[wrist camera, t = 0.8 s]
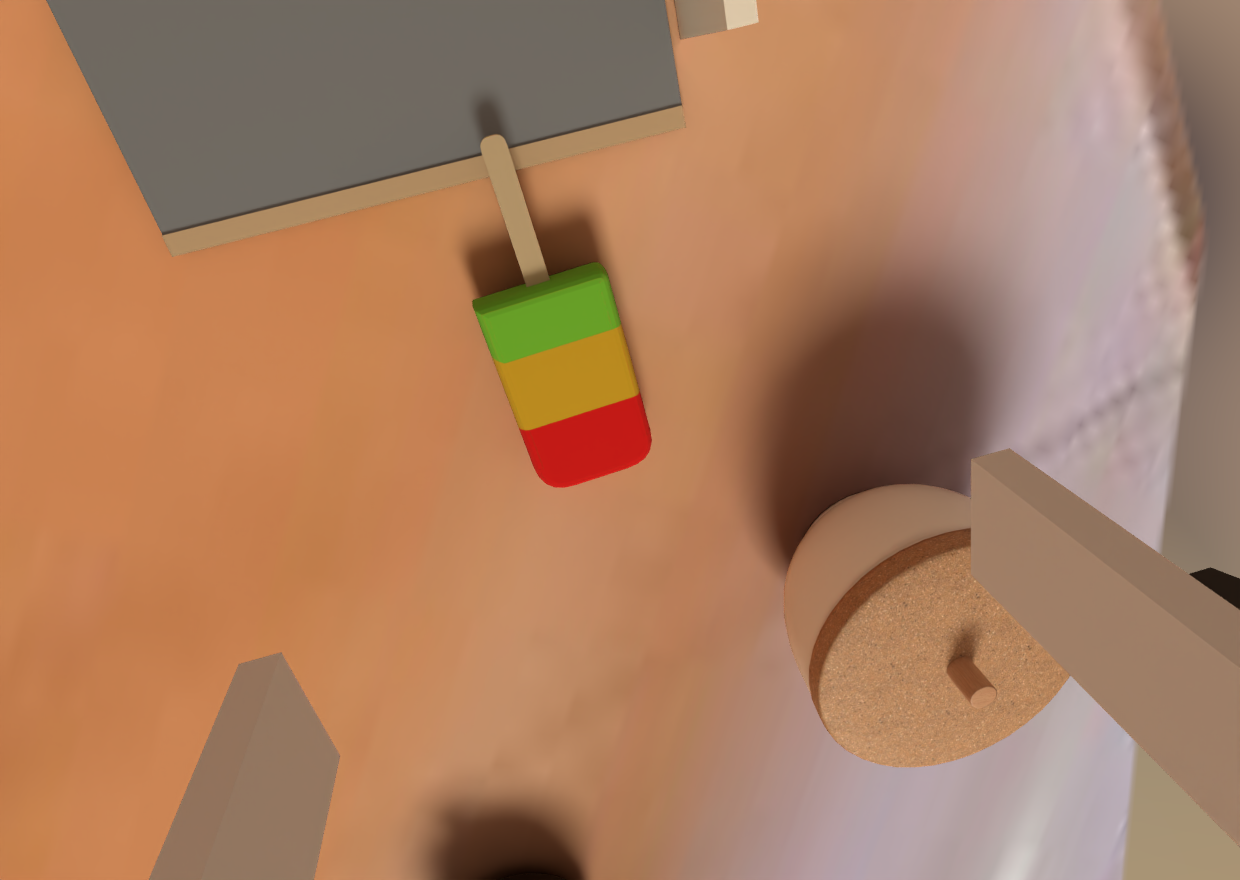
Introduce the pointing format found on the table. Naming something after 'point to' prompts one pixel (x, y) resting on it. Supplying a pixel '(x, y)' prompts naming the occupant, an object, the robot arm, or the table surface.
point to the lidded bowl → (908, 631)
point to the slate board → (357, 97)
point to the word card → (713, 16)
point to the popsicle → (560, 353)
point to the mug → (533, 877)
